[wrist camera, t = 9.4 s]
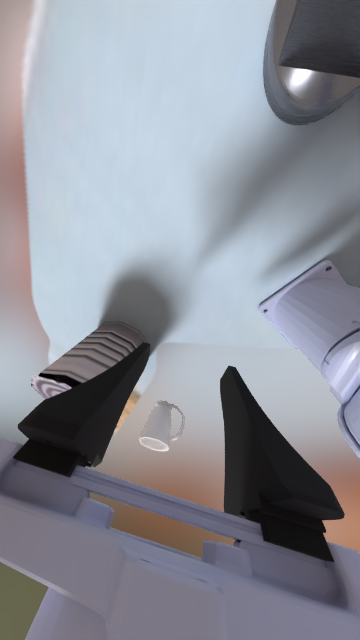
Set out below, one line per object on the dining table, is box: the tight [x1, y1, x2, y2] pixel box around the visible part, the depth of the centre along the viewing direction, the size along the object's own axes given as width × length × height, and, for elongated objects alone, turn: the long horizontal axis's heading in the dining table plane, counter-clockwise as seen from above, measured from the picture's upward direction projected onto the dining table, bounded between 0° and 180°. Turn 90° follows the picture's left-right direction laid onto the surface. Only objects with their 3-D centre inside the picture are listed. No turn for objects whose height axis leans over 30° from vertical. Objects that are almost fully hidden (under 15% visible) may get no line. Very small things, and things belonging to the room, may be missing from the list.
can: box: [31, 322, 147, 427], centre depth 21 cm, size 11×11×12 cm
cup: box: [139, 401, 185, 451], centre depth 31 cm, size 7×10×8 cm
